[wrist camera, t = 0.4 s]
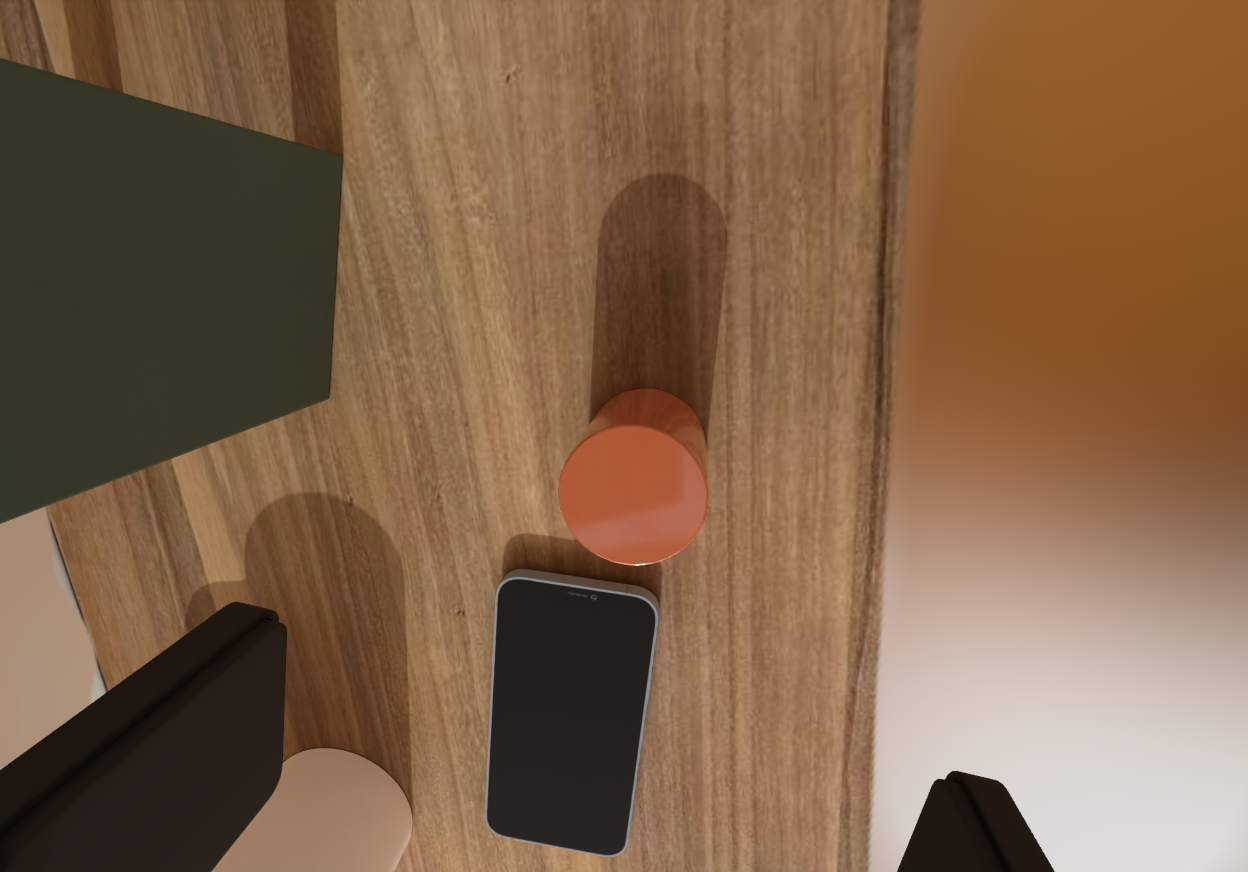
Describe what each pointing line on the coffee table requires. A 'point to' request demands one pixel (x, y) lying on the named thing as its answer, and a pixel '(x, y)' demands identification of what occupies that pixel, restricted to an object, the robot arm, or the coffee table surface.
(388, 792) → the mug
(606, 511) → the canister
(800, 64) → the coffee table surface
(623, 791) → the smartphone
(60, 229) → the shelf
